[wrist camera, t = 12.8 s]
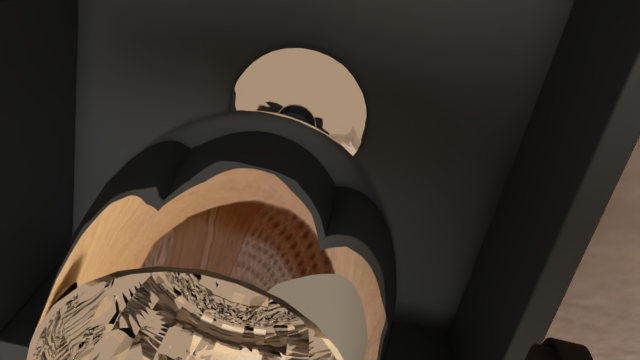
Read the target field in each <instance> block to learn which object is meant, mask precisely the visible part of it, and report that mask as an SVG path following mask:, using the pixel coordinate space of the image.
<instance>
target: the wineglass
mask: <svg viewBox="0 0 640 360" xmlns="http://www.w3.org/2000/svg"><path fill="white" fill-rule="evenodd" d="M368 126H369V104H368V100H367V97H366V94H365V90H364V88H363V86H362V85H361V83H360V81H359V79H358V78H357V76H356V74H355V73H354V72H353V71H352V70H351V69H350V68H349V67H348V66H347V65H346V64H345V63H344V62H342V61H341V60H340V59H338V58H337V57H335V56H334V55H332V54H330V53H328V52H326V51H323V50H321V49H318V48H315V47H309V46H304V45H286V46H281V47H277V48H273V49H271V50H268V51H266V52H264V53H261V54H260V55H258V56H257V57H255V58H254V59H252V60H251V61H250V62H249V63H248V64H247V65H246V66H245V67H244V68H243V69H242V71H241V72H240V73H239V75H238V76H237V78H236V80H235V82H234V85H233V88H232V90H231V93H230V97H229V105H228V111H224V112H216V113H210V114H206V115H203V116H199V117H195V118H193V119H191V120H188V121H186V122H184V123H182V124H180V125H178V126H176V127H174V128H171V129H169V130H167V131H165V132H164V133H162V134H161V135H159V136H157V137H156V138H154V139H153V140H151V141H150V142H148V143H146V144H145V145H144V146H142V147H141V148H140V149H139V150H137V151H136V152H135V153H134V154H133V155H131V156H130V157H129V158H128V159H127V160H126V161H125V162H124V163H123V164H122V165H121V167H120V168H119V169H118V170H117V171H116V172H115V173H114V175H113V176H112V177H111V178H110V179H109V180H108V181H107V183H106V184H105V186H104V187H103V189H102V190H101V192H100V193H99V195H98V196H97V198H96V199H95V201H94V202H93V204H92V205H91V207H90V208H89V210H88V211H87V213H86V214H85V216H84V217H83V219H82V221H81V222H80V224H79V226H78V228H77V229H76V231H75V233H74V235H73V237H72V239H71V241H70V243H69V245H68V247H67V249H66V251H65V253H64V255H63V258H62V260H61V263H60V266H59V268H58V271H57V273H56V276H55V279H54V281H53V284H52V287H51V289H50V292H49V295H48V297H47V300H46V302H45V305H44V308H43V310H42V313H41V316H40V318H39V321H38V324H37V326H36V329H35V332H34V334H33V337H32V339H31V342H30V345H29V350H28V355H27V360H386V358H387V353H388V349H389V345H390V341H391V336H392V332H393V326H394V320H395V315H396V307H397V292H398V259H397V248H396V243H395V237H394V233H393V229H392V224H391V221H390V219H389V216H388V213H387V210H386V208H385V205H384V202H383V199H382V197H381V195H380V193H379V192H378V190H377V188H376V186H375V185H374V183H373V181H372V180H371V178H370V176H369V174H368V173H367V172H366V171H365V169H364V168H363V167H362V165H361V164H360V163H359V161H358V160H357V159H356V158H355V156H356V155H357V153H358V152H359V150H360V148H361V146H362V144H363V142H364V140H365V138H366V135H367V131H368Z"/></svg>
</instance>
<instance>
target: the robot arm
mask: <svg viewBox="0 0 640 360" xmlns="http://www.w3.org/2000/svg"><path fill="white" fill-rule="evenodd" d="M525 360H593V358H592V356H591V354H590V352H589V350H588V349H587V347H586V346H584V345H581V344H576V343H572V342H568V341H563V340H559V339H555V338H547V339H545V340H544V341H543V343H542V345H540V344H533V345H532V346H531V347H530V349H529V351H528V353H527V356H526V358H525Z"/></svg>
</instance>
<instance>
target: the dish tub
mask: <svg viewBox="0 0 640 360" xmlns="http://www.w3.org/2000/svg"><path fill="white" fill-rule="evenodd" d="M286 45H304V46H309V47H315V48H318V49H321V50H323V51H326V52H328V53H330V54H332V55H334V56H335V57H337V58H338V59H340V60H341V61H342V62H344V63H345V64H346V65H347V66H348V67H349V68H350V69H351V70H352V71H353V72H354V73H355V74H356V76H357V78H358V79H359V81H360V83H361V85H362V86H363V88H364V90H365V94H366V97H367V100H368V104H369V126H368V131H367V135H366V138H365V140H364V142H363V144H362V146H361V148H360V150H359V152H358V153H357V155H356V156H355V158H356V159H357V160H358V161H359V163H360V164H361V165H362V167H363V168H364V169H365V171H366V172H367V173H368V174H369V176H370V178H371V180H372V181H373V183H374V185H375V186H376V188H377V190H378V192H379V193H380V195H381V197H382V199H383V202H384V205H385V208H386V210H387V213H388V216H389V219H390V221H391V224H392V229H393V233H394V237H395V243H396V248H397V259H398V292H397V307H396V315H395V320H394V326H393V332H392V336H391V341H390V345H389V349H388V353H387V358H386V360H525V358H526V356H527V353H528V351H529V349H530V347H531V346H532V345H533V344H540V345H541V344H542V342H543V340H544V338H545V336H546V334H547V332H548V329H549V327H550V325H551V323H552V321H553V319H554V317H555V315H556V312H557V310H558V308H559V306H560V304H561V302H562V300H563V298H564V295H565V293H566V291H567V289H568V287H569V285H570V283H571V281H572V278H573V276H574V274H575V272H576V270H577V268H578V266H579V264H580V261H581V259H582V257H583V255H584V253H585V251H586V249H587V247H588V245H589V242H590V240H591V238H592V236H593V234H594V232H595V230H596V228H597V225H598V223H599V221H600V219H601V217H602V215H603V213H604V211H605V208H606V206H607V204H608V202H609V200H610V198H611V196H612V194H613V191H614V189H615V187H616V185H617V183H618V181H619V179H620V177H621V174H622V172H623V170H624V168H625V166H626V164H627V162H628V160H629V157H630V155H631V153H632V151H633V149H634V147H635V145H636V143H637V141H638V138H639V136H640V0H0V360H27V355H28V350H29V345H30V342H31V339H32V337H33V334H34V332H35V329H36V326H37V324H38V321H39V318H40V316H41V313H42V310H43V308H44V305H45V302H46V300H47V297H48V295H49V292H50V289H51V287H52V284H53V281H54V279H55V276H56V273H57V271H58V268H59V266H60V263H61V260H62V258H63V255H64V253H65V251H66V249H67V247H68V245H69V243H70V241H71V239H72V237H73V235H74V233H75V231H76V229H77V228H78V226H79V224H80V222H81V221H82V219H83V217H84V216H85V214H86V213H87V211H88V210H89V208H90V207H91V205H92V204H93V202H94V201H95V199H96V198H97V196H98V195H99V193H100V192H101V190H102V189H103V187H104V186H105V184H106V183H107V181H108V180H109V179H110V178H111V177H112V176H113V175H114V173H115V172H116V171H117V170H118V169H119V168H120V167H121V165H122V164H123V163H124V162H125V161H126V160H127V159H128V158H129V157H130V156H131V155H133V154H134V153H135V152H136V151H137V150H139V149H140V148H141V147H142V146H144V145H145V144H146V143H148V142H150V141H151V140H153V139H154V138H156V137H157V136H159V135H161V134H162V133H164V132H165V131H167V130H169V129H171V128H174V127H176V126H178V125H180V124H182V123H184V122H186V121H188V120H191V119H193V118H195V117H199V116H203V115H206V114H210V113H216V112H224V111H228V105H229V97H230V93H231V90H232V88H233V85H234V82H235V80H236V78H237V76H238V75H239V73H240V72H241V71H242V69H243V68H244V67H245V66H246V65H247V64H248V63H249V62H250V61H251V60H252V59H254V58H255V57H257V56H258V55H260V54H261V53H264V52H266V51H268V50H271V49H273V48H277V47H281V46H286Z"/></svg>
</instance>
